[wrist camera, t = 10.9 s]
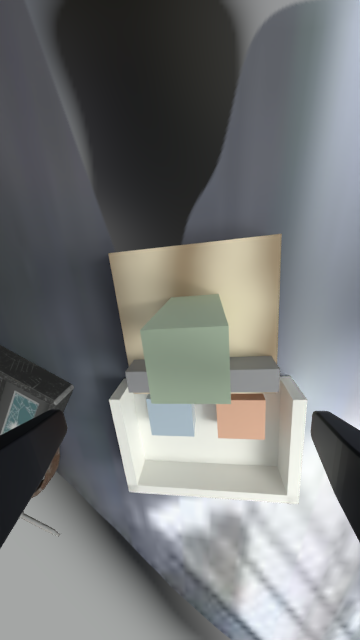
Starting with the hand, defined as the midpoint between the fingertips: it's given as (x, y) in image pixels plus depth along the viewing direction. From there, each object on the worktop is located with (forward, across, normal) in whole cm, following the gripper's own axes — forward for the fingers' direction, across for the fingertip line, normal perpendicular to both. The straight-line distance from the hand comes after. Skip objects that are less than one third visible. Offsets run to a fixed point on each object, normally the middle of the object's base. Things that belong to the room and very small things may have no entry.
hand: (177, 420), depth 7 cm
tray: (+12, 0, +11) cm, 16 cm away
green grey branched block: (+9, 0, 0) cm, 9 cm away
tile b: (+11, +3, +8) cm, 14 cm away
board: (+12, 0, 0) cm, 12 cm away
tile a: (+11, -4, +8) cm, 14 cm away
